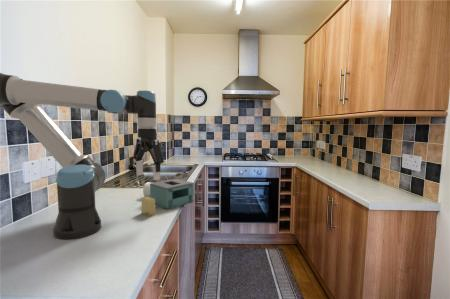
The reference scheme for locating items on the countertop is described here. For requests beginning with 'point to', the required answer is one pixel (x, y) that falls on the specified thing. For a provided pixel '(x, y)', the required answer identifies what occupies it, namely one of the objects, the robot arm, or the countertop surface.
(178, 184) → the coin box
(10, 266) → the countertop surface
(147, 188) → the mug
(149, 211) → the gold block
